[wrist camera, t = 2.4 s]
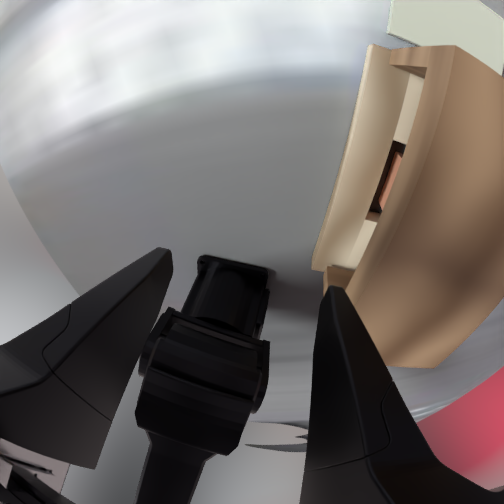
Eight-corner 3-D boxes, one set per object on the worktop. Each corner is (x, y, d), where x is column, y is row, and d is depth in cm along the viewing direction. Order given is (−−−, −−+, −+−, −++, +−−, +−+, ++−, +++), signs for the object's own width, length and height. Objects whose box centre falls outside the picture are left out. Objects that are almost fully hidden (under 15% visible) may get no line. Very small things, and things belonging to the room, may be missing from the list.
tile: (386, 33, 11) (388, 32, 10) (394, -40, 6) (397, -43, 6) (494, 90, 10) (498, 91, 10) (503, 22, 6) (507, 22, 5)
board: (311, 257, 23) (311, 269, 21) (368, 45, 11) (373, 43, 10) (453, 288, 22) (457, 299, 20) (530, 136, 10) (541, 143, 9)
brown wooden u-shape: (323, 275, 21) (321, 358, 15) (391, 49, 10) (455, 45, 4) (417, 294, 20) (433, 368, 15) (504, 111, 9) (578, 155, 4)
